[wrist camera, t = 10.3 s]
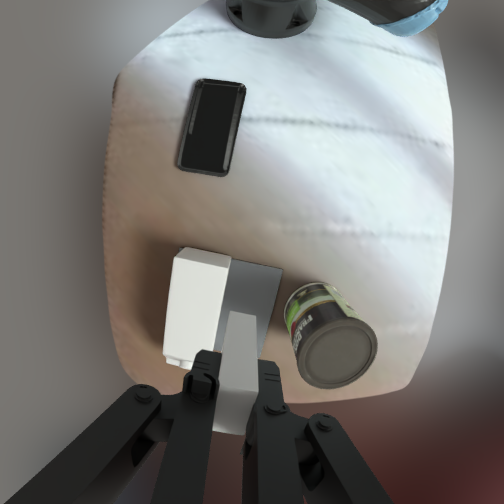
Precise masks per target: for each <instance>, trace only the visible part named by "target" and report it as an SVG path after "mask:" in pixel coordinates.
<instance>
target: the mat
mask: <svg viewBox="0 0 504 504" xmlns="http://www.w3.org/2000/svg"><path fill="white" fill-rule="evenodd" d="M183 249H184V248H179V252H181V251H182V250H183ZM282 272H283V269H280V268H275V267H270V266H265V265H260V264H256V263H251V262H246V261H241V260H236V259H232V258H231V262H230V267H229V272H228V277H227V282H226V287H225V292H224V297H223V302H222V307H221V312H220V317H219V322H218V328H217V333H216V338H215V343H214V348H213V350H218V351H222V347H223V342H224V337H225V332H226V327H227V322H228V318H229V313H230V311H234V312H239V313H244V314H249V315H254V316H256V330H257V358H260V355H261V351H262V347H263V344H264V340H265V337H266V333H267V329H268V325H269V322H270V318H271V314H272V310H273V307H274V303H275V299H276V295H277V291H278V287H279V283H280V279H281V275H282Z"/></svg>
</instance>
